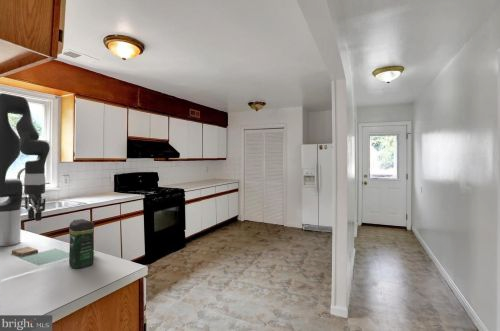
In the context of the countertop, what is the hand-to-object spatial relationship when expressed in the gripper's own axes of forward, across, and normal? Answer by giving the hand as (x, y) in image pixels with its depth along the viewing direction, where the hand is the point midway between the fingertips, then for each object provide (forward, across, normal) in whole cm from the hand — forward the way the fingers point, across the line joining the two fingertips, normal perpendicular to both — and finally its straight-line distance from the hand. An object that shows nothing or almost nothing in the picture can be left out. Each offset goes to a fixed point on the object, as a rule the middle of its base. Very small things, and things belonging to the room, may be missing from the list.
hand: (34, 219), depth 121 cm
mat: (+15, +12, 0) cm, 19 cm away
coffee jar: (+16, +32, +3) cm, 36 cm away
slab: (+15, +3, -3) cm, 15 cm away
